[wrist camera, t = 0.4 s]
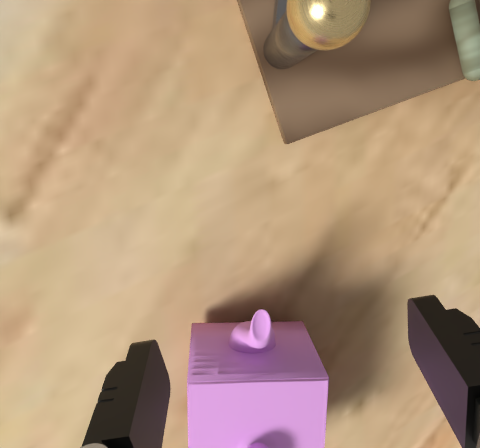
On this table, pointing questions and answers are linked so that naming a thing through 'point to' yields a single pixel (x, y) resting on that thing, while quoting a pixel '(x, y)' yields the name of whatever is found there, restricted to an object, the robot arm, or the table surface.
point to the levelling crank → (312, 28)
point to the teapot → (255, 386)
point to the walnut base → (369, 62)
